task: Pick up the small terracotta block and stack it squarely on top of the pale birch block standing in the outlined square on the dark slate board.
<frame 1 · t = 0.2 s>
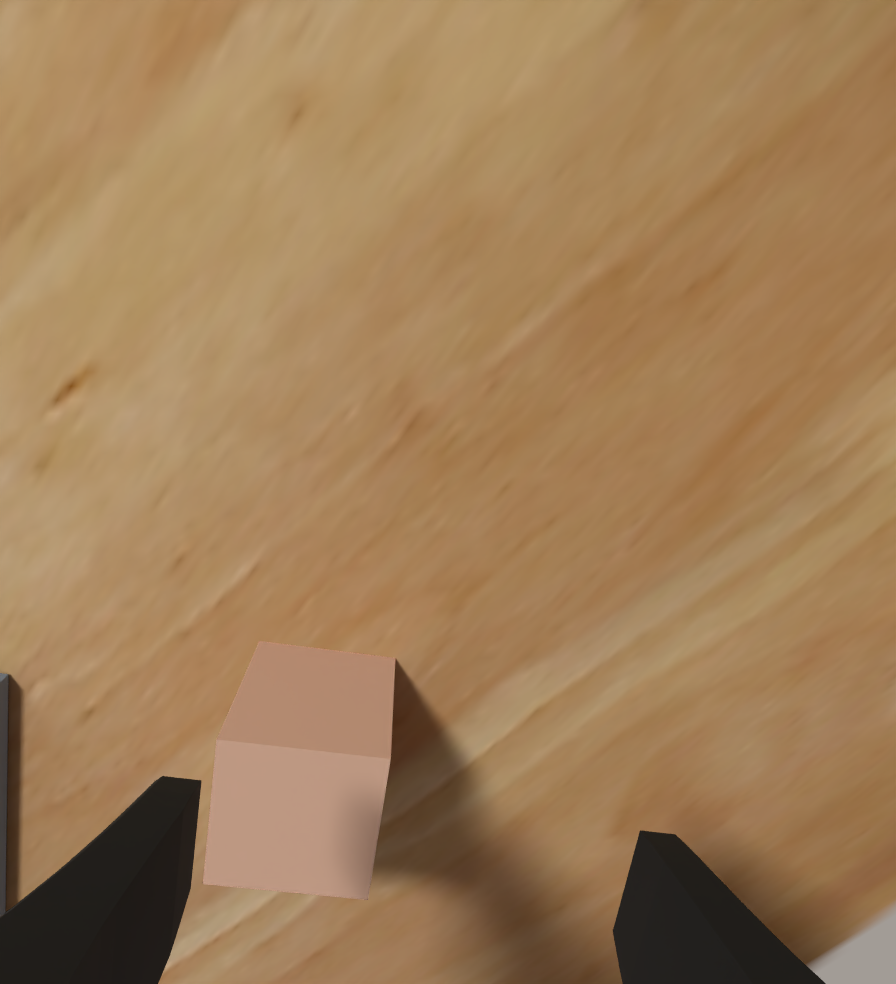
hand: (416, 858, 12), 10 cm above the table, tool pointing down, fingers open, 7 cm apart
terracotta block: (320, 708, 23), on the table
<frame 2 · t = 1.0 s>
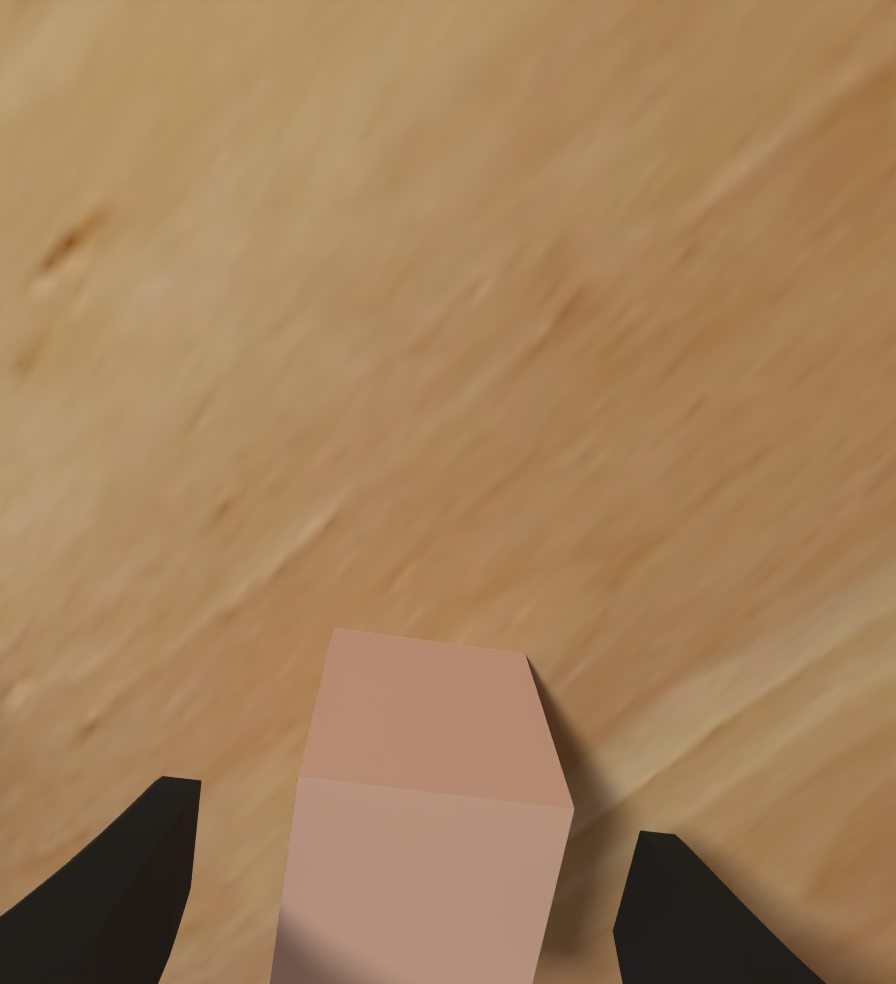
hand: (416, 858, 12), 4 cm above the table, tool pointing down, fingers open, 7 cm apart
terracotta block: (415, 724, 16), on the table
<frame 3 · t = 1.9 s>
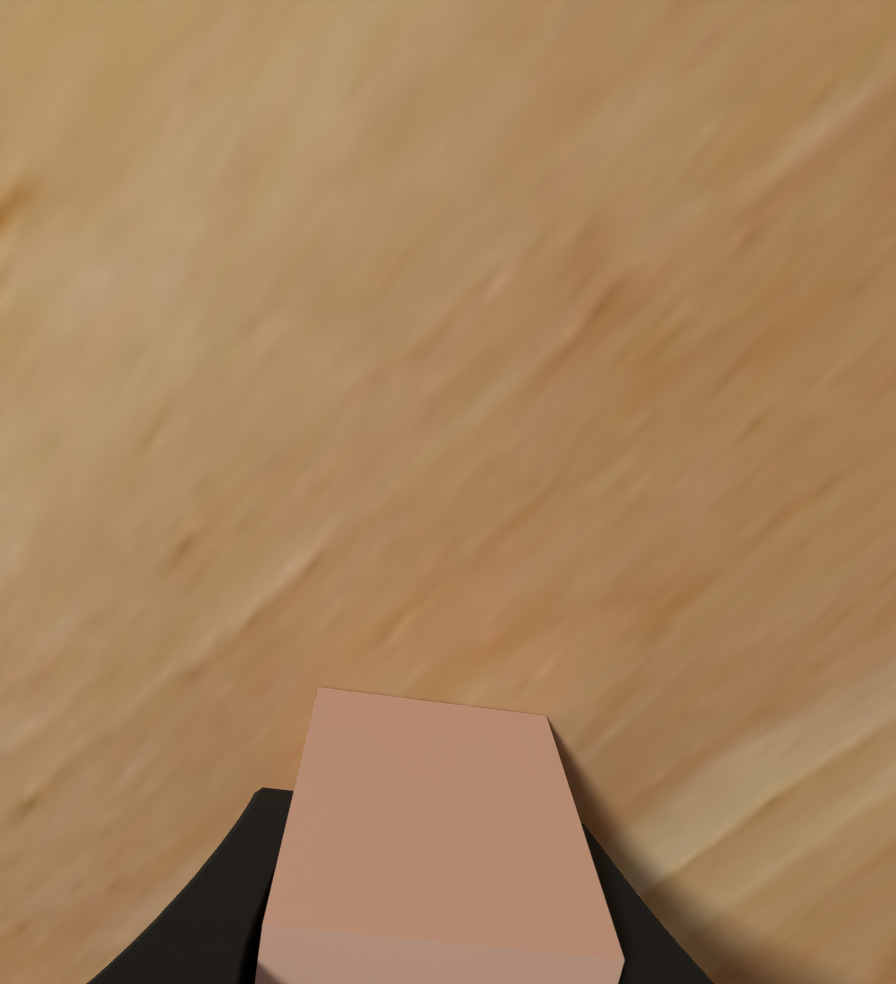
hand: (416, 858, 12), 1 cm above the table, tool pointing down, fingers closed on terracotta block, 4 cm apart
terracotta block: (415, 800, 14), on the table, touching gripper
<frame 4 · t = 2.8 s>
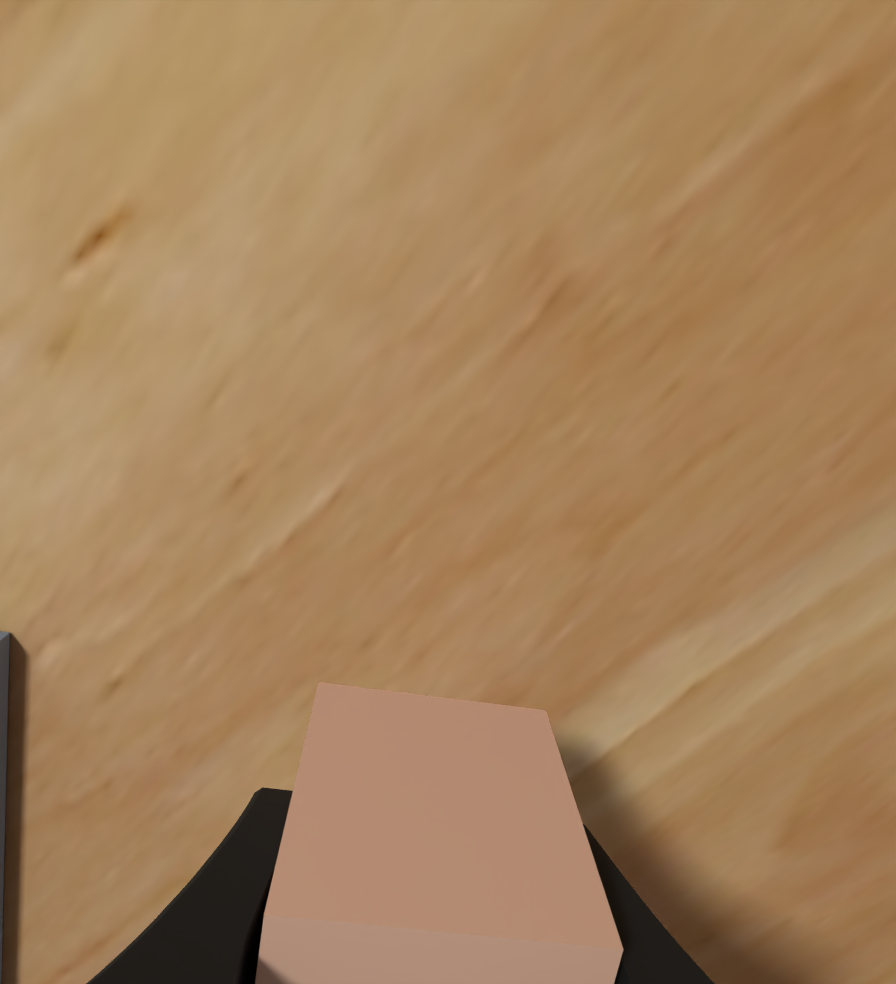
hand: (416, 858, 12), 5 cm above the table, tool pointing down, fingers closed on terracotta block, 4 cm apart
terracotta block: (415, 794, 14), point 4 cm above the table, touching gripper
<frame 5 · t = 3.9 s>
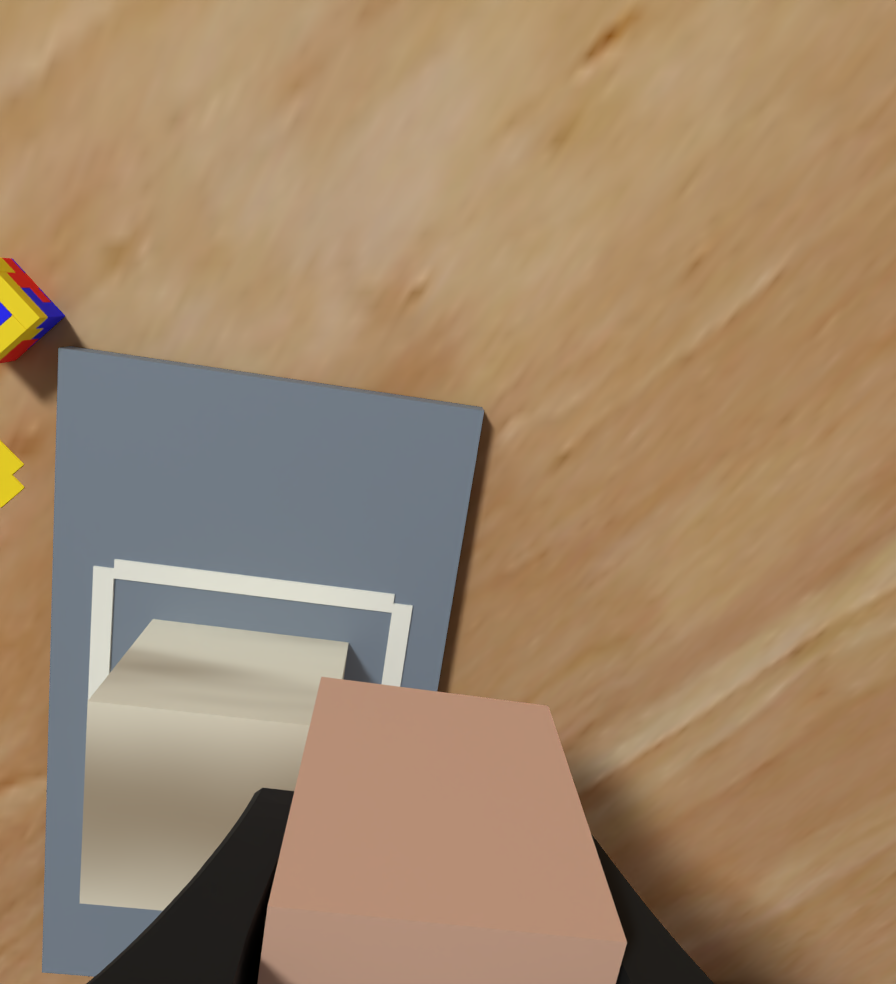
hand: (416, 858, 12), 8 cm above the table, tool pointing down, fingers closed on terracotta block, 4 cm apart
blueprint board: (248, 704, 21), on the table
terracotta block: (418, 790, 14), point 7 cm above the table, touching gripper
birch base block: (243, 716, 20), point 1 cm above the table, touching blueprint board
when the fingers open (7 cm above the table, at t = 5.0 s): terracotta block stays where it is, resting on birch base block.
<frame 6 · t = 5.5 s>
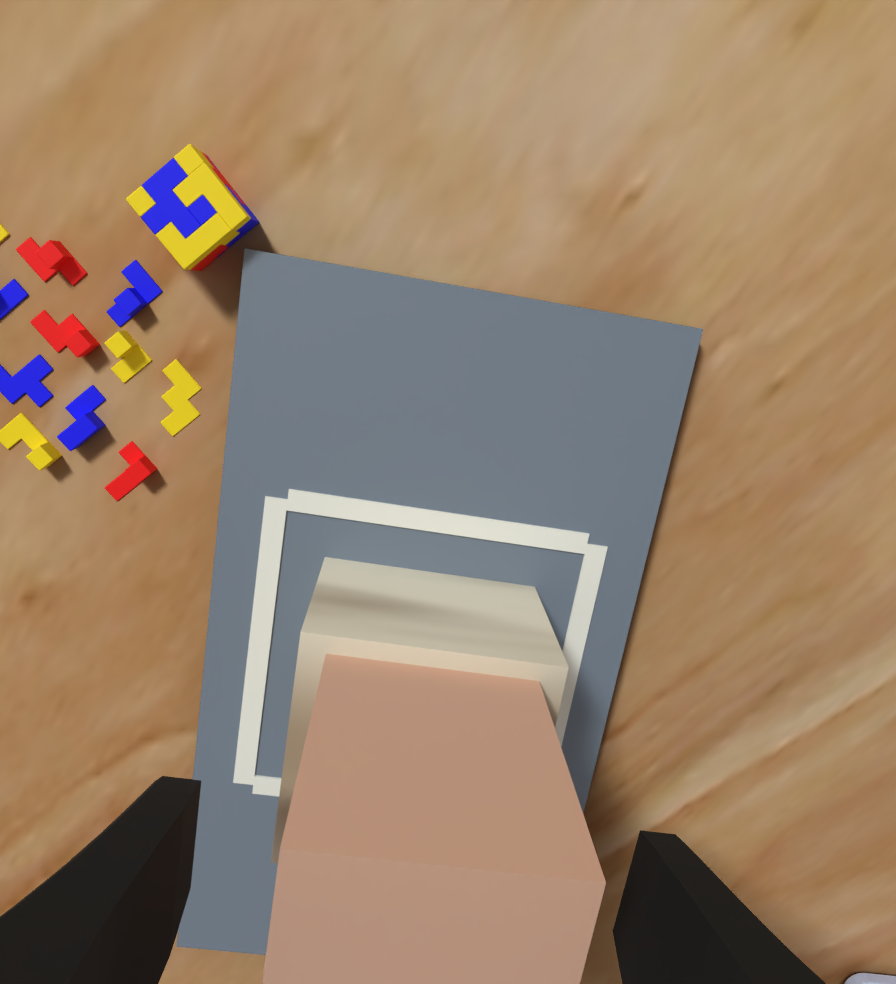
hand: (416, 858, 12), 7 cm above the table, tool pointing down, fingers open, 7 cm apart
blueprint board: (414, 655, 19), on the table
terracotta block: (417, 761, 14), point 5 cm above the table, touching birch base block
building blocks: (112, 315, 17), on the table
birch base block: (414, 667, 18), point 1 cm above the table, touching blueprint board, terracotta block
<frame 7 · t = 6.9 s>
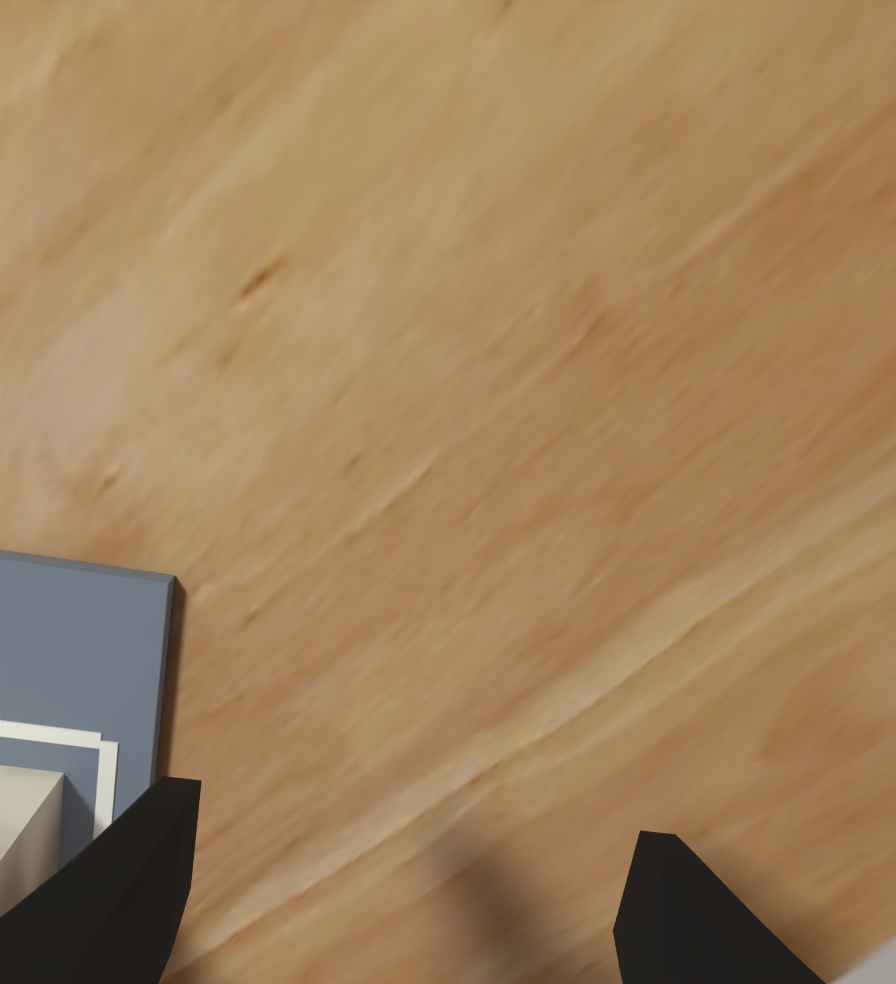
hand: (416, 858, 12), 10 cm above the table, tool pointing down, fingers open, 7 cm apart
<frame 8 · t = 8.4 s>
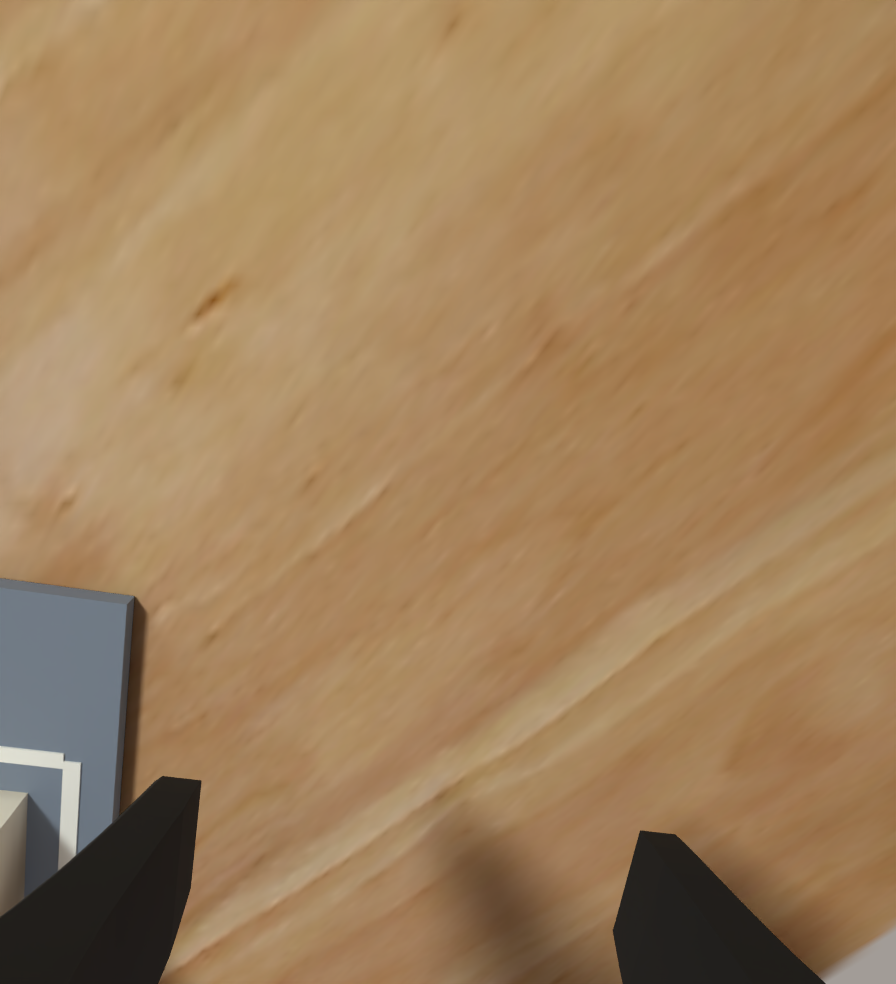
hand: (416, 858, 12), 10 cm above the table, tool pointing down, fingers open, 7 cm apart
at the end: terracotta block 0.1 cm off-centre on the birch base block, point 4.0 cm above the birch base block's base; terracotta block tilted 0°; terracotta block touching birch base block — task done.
